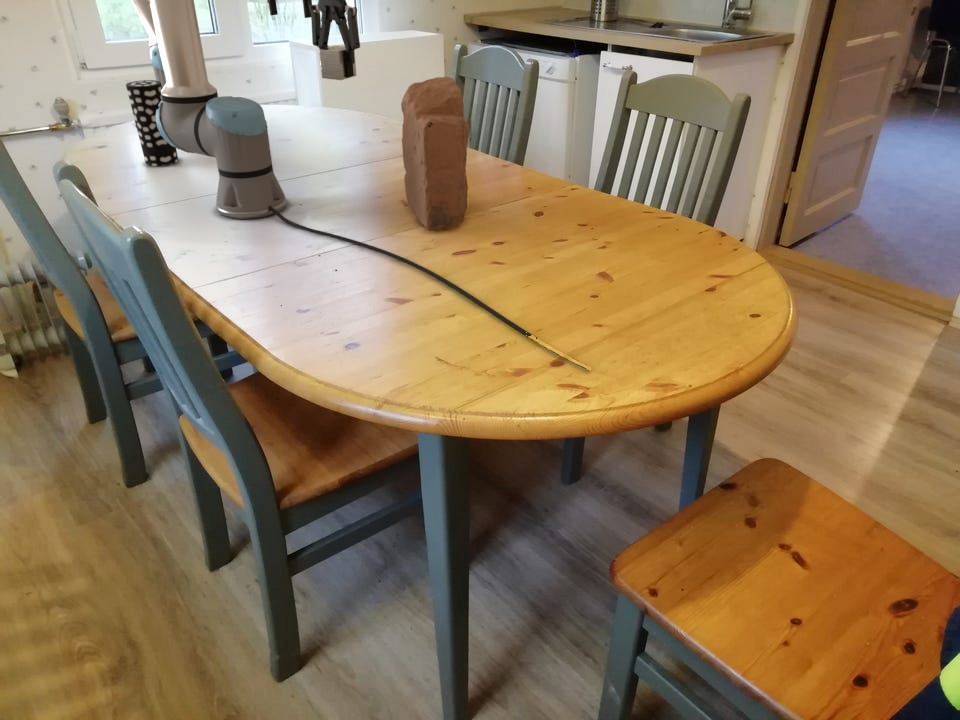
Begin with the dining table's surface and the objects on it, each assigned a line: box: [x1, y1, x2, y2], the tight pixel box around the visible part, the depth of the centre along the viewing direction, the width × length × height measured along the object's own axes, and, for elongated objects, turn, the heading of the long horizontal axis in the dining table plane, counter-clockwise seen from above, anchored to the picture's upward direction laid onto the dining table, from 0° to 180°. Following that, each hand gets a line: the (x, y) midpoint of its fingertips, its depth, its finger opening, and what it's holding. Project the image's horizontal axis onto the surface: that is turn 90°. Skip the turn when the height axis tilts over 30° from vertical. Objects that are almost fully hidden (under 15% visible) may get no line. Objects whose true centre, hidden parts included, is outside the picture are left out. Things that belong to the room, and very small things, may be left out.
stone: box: [400, 76, 469, 231], centre depth 148 cm, size 22×11×28 cm, turn 18°
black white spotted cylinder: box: [125, 79, 179, 167], centre depth 181 cm, size 8×8×20 cm
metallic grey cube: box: [318, 45, 357, 81], centre depth 188 cm, size 6×7×7 cm
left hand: (291, 16), depth 222 cm, fingers open, 13 cm apart
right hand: (339, 75), depth 189 cm, fingers closed on metallic grey cube, 6 cm apart
